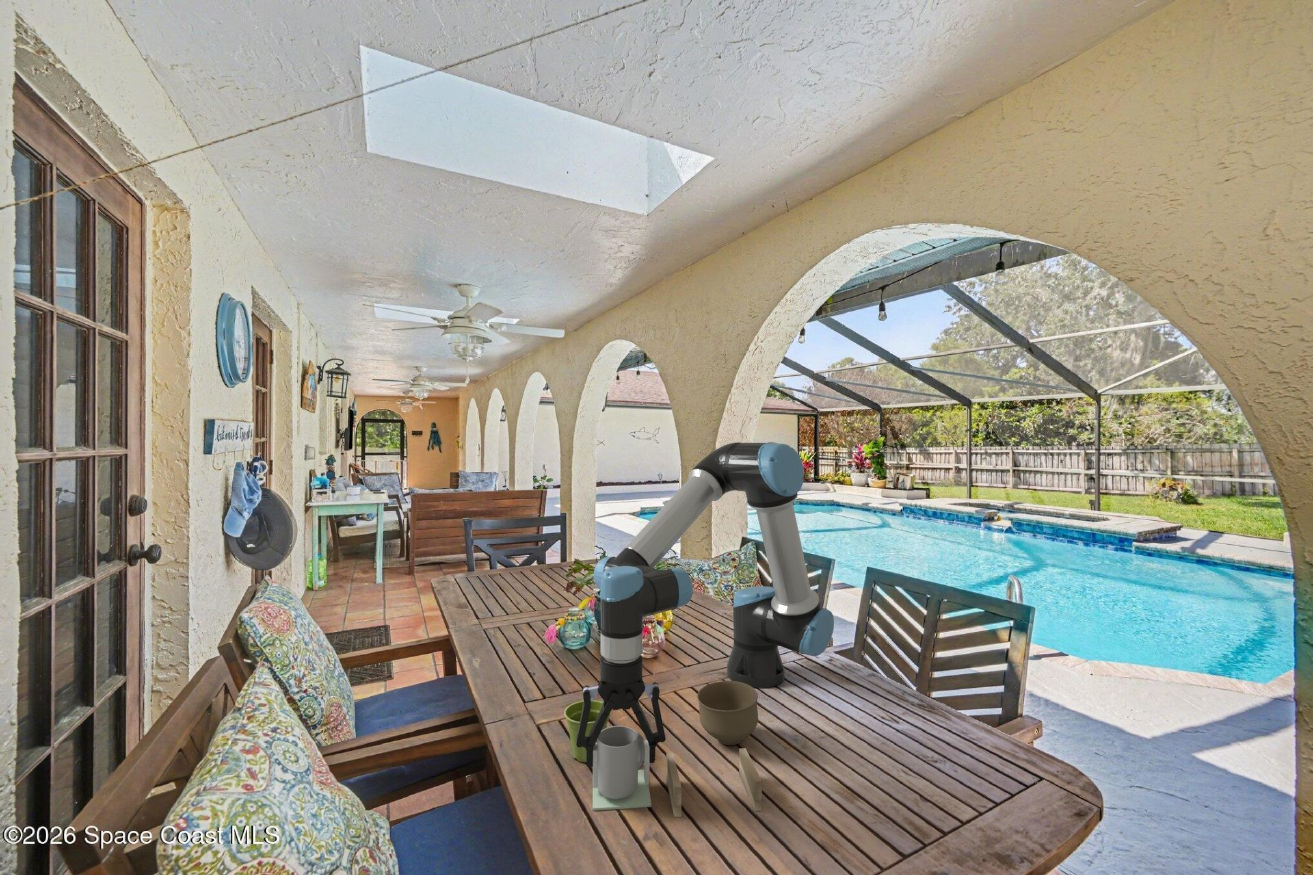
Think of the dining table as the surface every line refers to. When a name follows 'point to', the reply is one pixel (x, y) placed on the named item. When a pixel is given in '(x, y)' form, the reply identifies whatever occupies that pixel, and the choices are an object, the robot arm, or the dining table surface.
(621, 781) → the cup
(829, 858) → the dining table surface
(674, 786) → the holder rails
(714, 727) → the bowl
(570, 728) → the plant pot
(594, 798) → the mat
